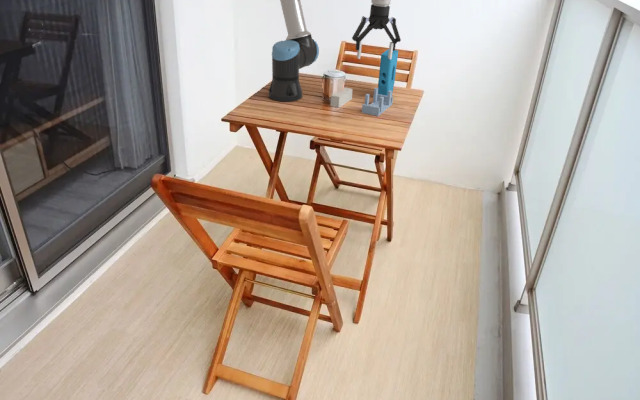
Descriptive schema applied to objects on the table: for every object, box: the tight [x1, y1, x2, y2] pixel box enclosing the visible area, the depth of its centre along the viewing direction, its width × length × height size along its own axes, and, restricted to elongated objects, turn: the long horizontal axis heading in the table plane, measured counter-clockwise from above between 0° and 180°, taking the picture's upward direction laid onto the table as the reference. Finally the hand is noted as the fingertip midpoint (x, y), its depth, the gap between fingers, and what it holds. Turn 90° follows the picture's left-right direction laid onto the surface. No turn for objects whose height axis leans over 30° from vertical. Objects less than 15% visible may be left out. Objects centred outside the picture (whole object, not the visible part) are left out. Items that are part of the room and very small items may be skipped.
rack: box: [361, 87, 394, 117], centre depth 207 cm, size 17×8×7 cm, turn 153°
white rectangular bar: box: [329, 86, 353, 108], centre depth 212 cm, size 14×4×5 cm, turn 152°
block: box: [377, 48, 399, 96], centre depth 218 cm, size 12×5×20 cm, turn 158°
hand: (374, 58), depth 203 cm, fingers open, 13 cm apart
